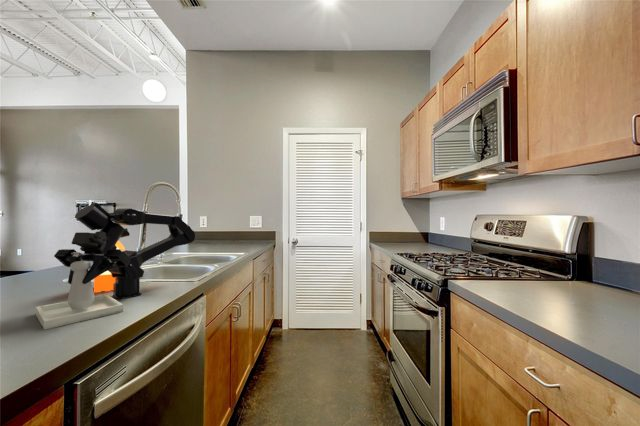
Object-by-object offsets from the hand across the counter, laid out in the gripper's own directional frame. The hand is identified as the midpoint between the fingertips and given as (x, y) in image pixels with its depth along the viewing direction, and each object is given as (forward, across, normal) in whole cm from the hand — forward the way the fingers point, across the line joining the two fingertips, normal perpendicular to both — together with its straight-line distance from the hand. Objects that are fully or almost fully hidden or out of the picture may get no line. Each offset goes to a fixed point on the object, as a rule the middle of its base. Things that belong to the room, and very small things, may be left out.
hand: (76, 283), depth 76 cm
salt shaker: (+4, 0, +6) cm, 8 cm away
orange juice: (-13, -11, +26) cm, 30 cm away
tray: (+5, 0, +7) cm, 9 cm away
